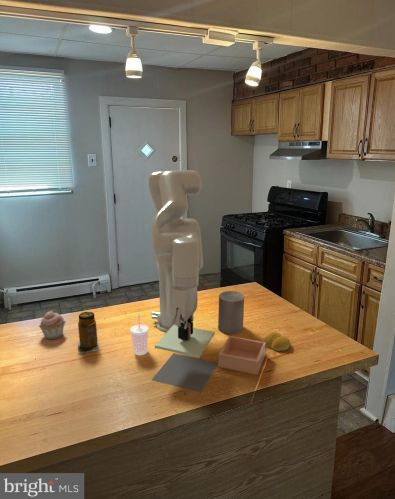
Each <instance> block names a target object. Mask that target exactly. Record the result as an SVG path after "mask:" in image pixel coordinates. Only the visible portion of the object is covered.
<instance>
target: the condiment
mask: <svg viewBox="0 0 395 499" xmlns="http://www.w3.org/2000/svg"><path fill="white" fill-rule="evenodd" d="M77 327H78V338H79V341H77V342H76V343H77V344H76V345H77V351H78V354H88V353H92V352H98V351H101V346H100V341H99V338H98V330H97V321H96V318H95V313H94V312H92V311H83V312H81V313H79V315H78V323H77Z"/></svg>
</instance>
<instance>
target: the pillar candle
mask: <svg viewBox="0 0 395 499" xmlns="http://www.w3.org/2000/svg"><path fill="white" fill-rule="evenodd" d="M244 311H245V295H244V294H243V293H241V292H240V291H237V290H226V291H222V292H220V293H219V295H218V314H217V316H218V319H217V320H218V322H217V323H218V324H217V328H218V330H219V331H220V332H221V333H223V334H227V335H237V334H239V333H241V332H242V331H243V329H244V317H245V316H244V314H245V313H244Z"/></svg>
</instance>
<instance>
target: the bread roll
mask: <svg viewBox="0 0 395 499" xmlns="http://www.w3.org/2000/svg"><path fill="white" fill-rule="evenodd" d="M263 342H266V347H268V348H270V349H272V350H273V351H277V352H280V351H286V350H288V349H289V348H290V345H291V341H290V339H289V338H288V336H287V337H286V336H284V335H281V334H280V333H278V332H270V333H268V334H267V335H265V336H264V338H263Z"/></svg>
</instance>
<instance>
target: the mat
mask: <svg viewBox="0 0 395 499" xmlns="http://www.w3.org/2000/svg"><path fill="white" fill-rule="evenodd" d="M217 367H218V362H217V361H212V360H206V359H203V358H202V359H201V358H198V357H194V356H189V355H185V354H180V353H176V352H172V354H171V356H170V357H169V358H168V359H167V360H166V361H165V363H164V364H163V365H162V366H161V367H160V369H159V370H158V371H157V373H155V375H154V376H153V378H151V381H153V382H158V383H162V384H166V385H170V386H175V387H179V388H183V389H187V390H192V391H194V392H199V393H202V392H203V391H204V389H205V387H206V385H207V383H208V382H209V380H210V378H211V376H212V375H213V373H214V371H215V370H216V368H217Z"/></svg>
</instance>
